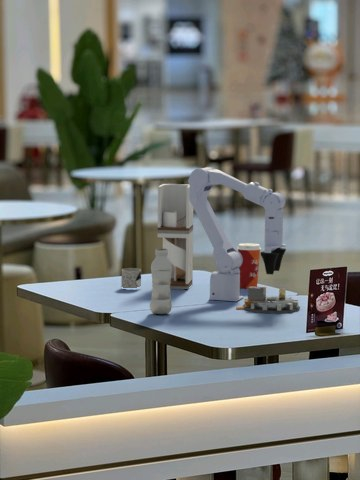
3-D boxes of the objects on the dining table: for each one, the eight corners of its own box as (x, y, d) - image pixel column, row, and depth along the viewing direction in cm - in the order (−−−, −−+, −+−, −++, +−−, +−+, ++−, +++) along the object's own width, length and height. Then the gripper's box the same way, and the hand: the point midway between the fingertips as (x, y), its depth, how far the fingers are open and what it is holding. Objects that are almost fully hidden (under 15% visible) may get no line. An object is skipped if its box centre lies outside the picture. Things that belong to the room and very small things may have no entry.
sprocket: (272, 312, 375) (272, 297, 374) (233, 304, 388) (233, 290, 387) (309, 306, 386) (309, 291, 386) (270, 298, 399) (270, 284, 398)
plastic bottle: (149, 312, 379) (149, 247, 376) (171, 311, 379) (171, 247, 377) (150, 316, 372) (150, 250, 370) (172, 316, 373) (173, 250, 370)
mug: (140, 290, 416) (140, 271, 415) (120, 290, 416) (120, 271, 415) (141, 285, 426) (141, 266, 425) (122, 285, 426) (122, 266, 425)
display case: (162, 283, 431) (163, 183, 426) (192, 284, 429) (193, 184, 425) (157, 289, 420) (158, 186, 415) (188, 290, 418) (189, 187, 414)
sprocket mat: (232, 310, 382) (232, 308, 382) (248, 301, 399) (248, 298, 399) (292, 315, 376) (292, 312, 376) (305, 305, 393) (305, 302, 393)
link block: (247, 300, 385) (248, 287, 385) (250, 298, 388) (250, 285, 387) (263, 301, 384) (263, 288, 383) (265, 299, 386) (266, 286, 386)
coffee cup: (258, 290, 420) (259, 246, 418) (234, 289, 421) (235, 245, 419) (261, 286, 428) (262, 243, 426) (238, 285, 429) (239, 242, 427)
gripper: (280, 233, 385) (279, 276, 387) (291, 228, 399) (290, 269, 400) (258, 232, 387) (257, 275, 389) (270, 227, 401) (269, 268, 403)
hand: (272, 272), depth 395 cm, fingers open, 7 cm apart
